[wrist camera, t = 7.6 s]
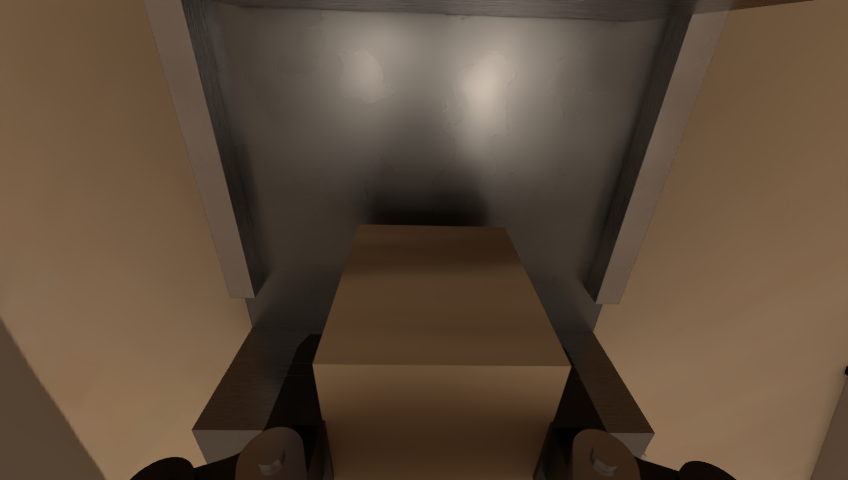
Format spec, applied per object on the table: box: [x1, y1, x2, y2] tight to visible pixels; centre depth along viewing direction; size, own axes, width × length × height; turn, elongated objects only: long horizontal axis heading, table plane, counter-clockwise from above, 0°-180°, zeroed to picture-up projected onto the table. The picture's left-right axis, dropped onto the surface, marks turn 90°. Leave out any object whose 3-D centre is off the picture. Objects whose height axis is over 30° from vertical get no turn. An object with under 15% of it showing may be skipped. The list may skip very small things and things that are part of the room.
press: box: [143, 0, 730, 464], centre depth 11 cm, size 20×16×6 cm
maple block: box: [312, 224, 571, 480], centre depth 11 cm, size 5×5×6 cm
